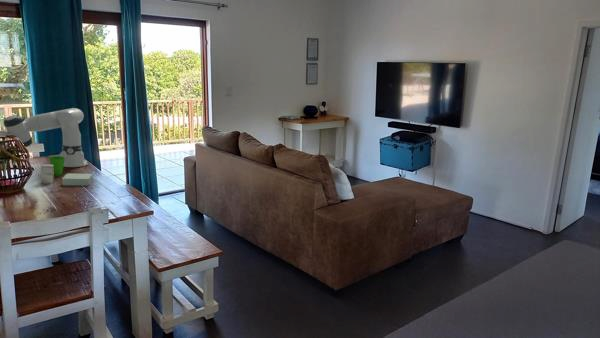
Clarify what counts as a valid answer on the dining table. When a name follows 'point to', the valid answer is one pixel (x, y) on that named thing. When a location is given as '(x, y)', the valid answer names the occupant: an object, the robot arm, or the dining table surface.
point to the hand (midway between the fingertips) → (23, 172)
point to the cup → (57, 164)
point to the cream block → (47, 173)
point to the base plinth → (77, 179)
